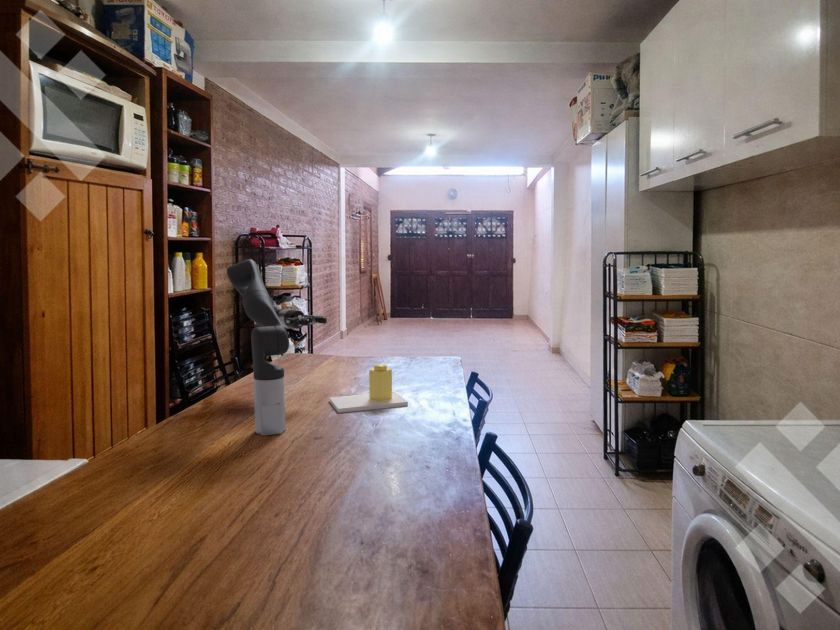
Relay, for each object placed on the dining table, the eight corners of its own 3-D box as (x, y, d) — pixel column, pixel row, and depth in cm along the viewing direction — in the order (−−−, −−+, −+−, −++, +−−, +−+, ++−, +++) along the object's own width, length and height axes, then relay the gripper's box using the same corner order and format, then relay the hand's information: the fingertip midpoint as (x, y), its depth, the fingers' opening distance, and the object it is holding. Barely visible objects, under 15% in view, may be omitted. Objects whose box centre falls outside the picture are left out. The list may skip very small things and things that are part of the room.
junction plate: (407, 405, 194) (407, 385, 193) (338, 412, 185) (337, 392, 184) (394, 395, 209) (394, 376, 208) (329, 401, 200) (329, 382, 199)
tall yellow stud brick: (391, 398, 199) (391, 365, 197) (381, 401, 194) (380, 367, 193) (380, 395, 203) (380, 363, 201) (369, 398, 198) (369, 365, 197)
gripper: (275, 310, 205) (302, 313, 194) (305, 308, 216) (331, 310, 205) (276, 329, 205) (302, 333, 195) (305, 326, 216) (331, 329, 206)
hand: (317, 321), depth 200 cm, fingers open, 8 cm apart
